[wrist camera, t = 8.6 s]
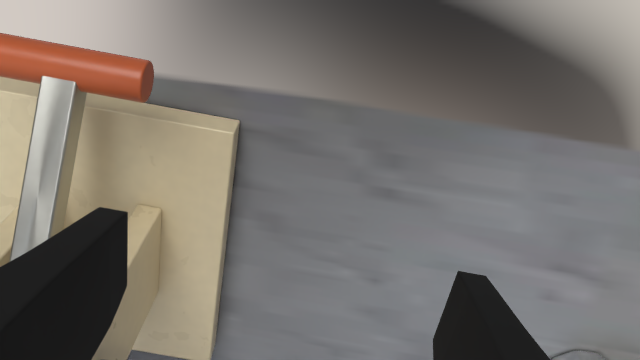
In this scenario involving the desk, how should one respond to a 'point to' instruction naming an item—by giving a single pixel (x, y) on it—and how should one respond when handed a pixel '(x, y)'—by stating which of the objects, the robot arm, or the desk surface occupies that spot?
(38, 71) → the lever
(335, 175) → the desk surface
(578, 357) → the milkshake
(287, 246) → the desk surface
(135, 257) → the bracket
